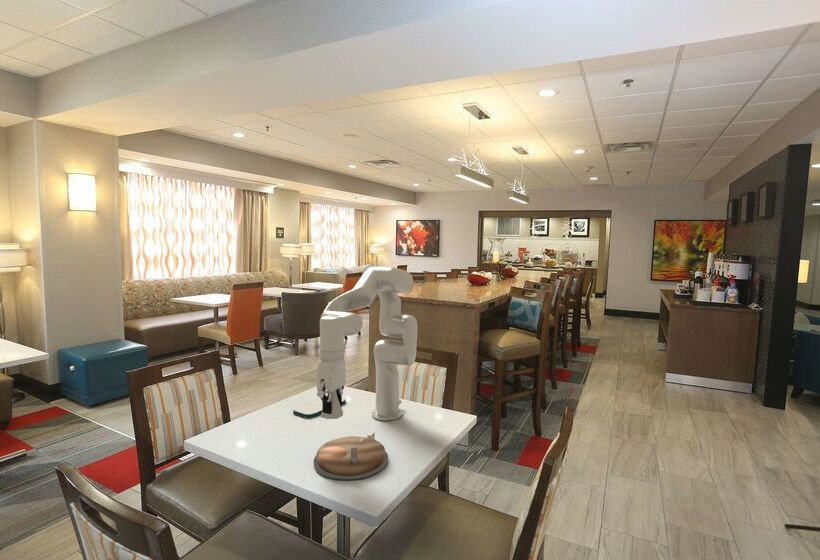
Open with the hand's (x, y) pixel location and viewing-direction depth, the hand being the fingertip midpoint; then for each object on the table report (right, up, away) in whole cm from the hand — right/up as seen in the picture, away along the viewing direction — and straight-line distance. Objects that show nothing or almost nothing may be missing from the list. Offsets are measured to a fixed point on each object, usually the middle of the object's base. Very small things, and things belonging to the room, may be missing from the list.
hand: (332, 409), depth 139 cm
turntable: (+6, -16, +2) cm, 17 cm away
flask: (0, -2, 0) cm, 2 cm away
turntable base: (+6, -17, +3) cm, 19 cm away
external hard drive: (-14, -14, +48) cm, 52 cm away
